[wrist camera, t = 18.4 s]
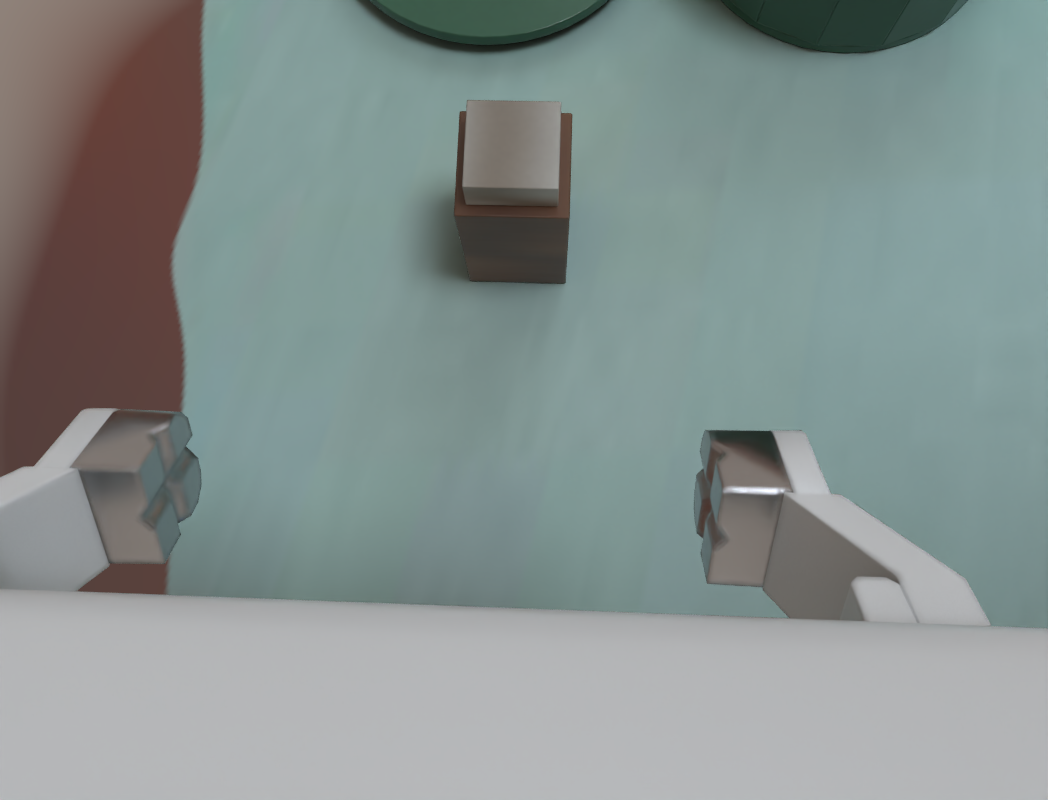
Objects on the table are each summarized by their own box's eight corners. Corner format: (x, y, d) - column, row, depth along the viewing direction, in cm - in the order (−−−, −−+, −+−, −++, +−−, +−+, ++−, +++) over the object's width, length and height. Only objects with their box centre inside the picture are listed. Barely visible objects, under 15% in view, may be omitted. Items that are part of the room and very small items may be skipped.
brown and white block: (567, 194, 37) (573, 90, 29) (565, 283, 36) (570, 200, 28) (474, 193, 37) (455, 88, 29) (470, 281, 36) (449, 197, 29)
